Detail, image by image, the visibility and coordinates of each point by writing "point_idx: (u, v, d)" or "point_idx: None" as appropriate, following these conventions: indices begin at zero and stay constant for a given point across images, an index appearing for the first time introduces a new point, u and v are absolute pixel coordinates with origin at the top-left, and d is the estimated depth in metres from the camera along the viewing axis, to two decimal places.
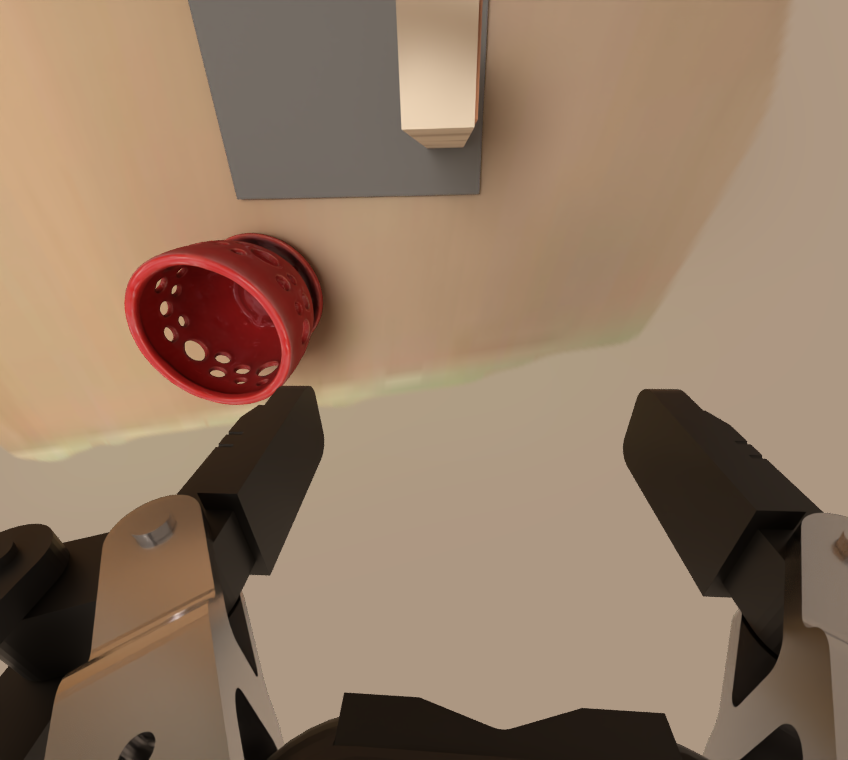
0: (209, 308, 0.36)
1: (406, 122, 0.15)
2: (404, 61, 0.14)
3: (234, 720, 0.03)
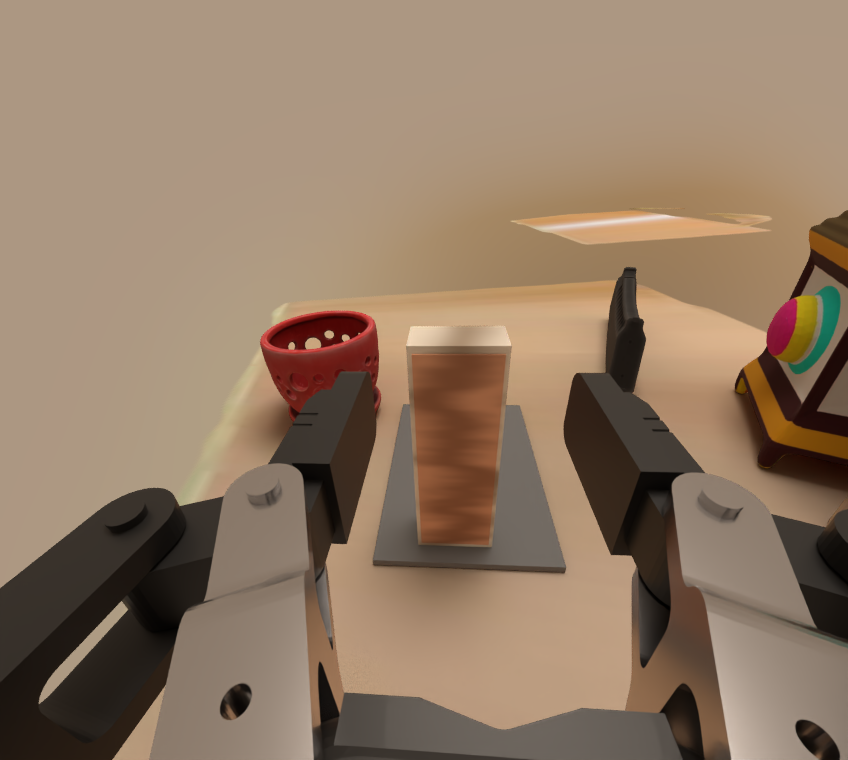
0: (337, 369, 0.51)
1: (414, 327, 0.24)
2: (444, 327, 0.23)
3: (316, 696, 0.03)
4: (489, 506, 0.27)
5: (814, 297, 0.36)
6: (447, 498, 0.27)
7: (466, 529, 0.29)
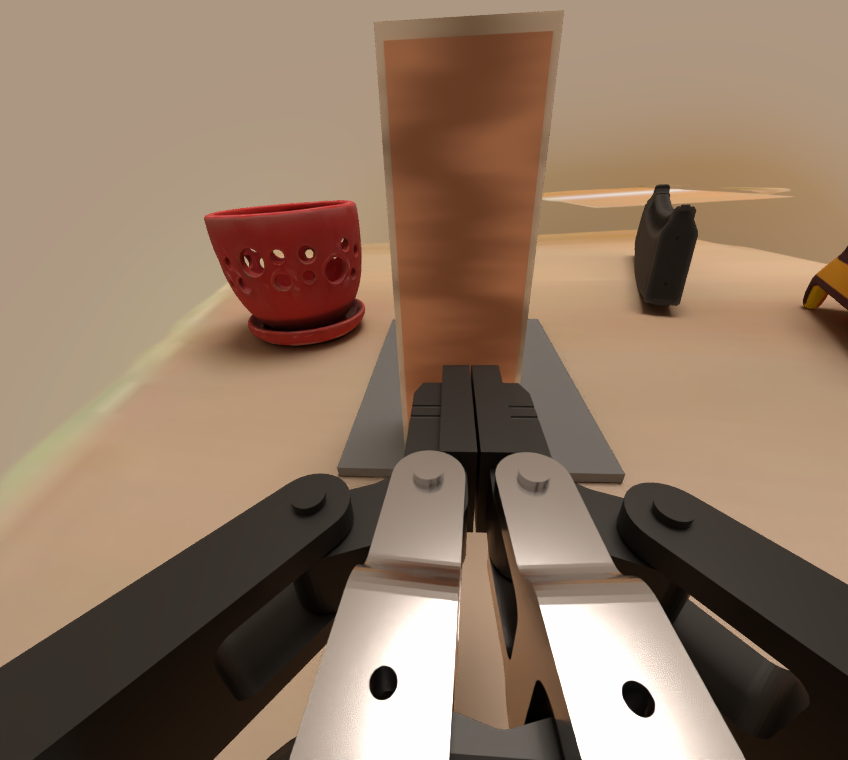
0: None
1: None
2: None
3: (451, 716, 0.03)
4: (511, 376, 0.18)
5: None
6: (447, 362, 0.18)
7: None
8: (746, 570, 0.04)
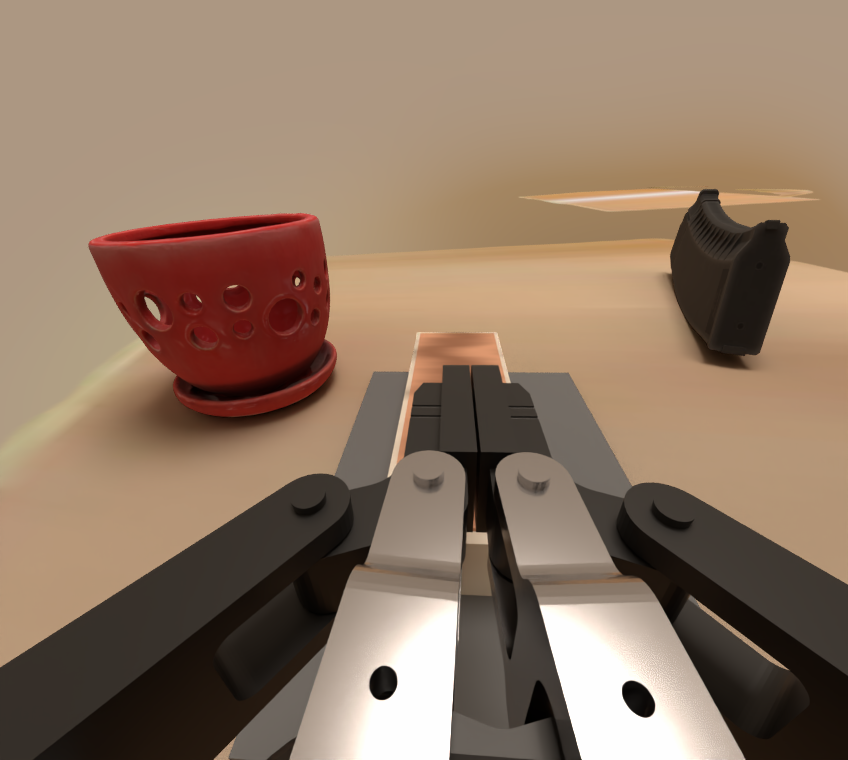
0: (271, 317, 0.32)
1: None
2: None
3: (452, 716, 0.03)
4: None
5: None
6: None
7: None
8: (746, 570, 0.04)
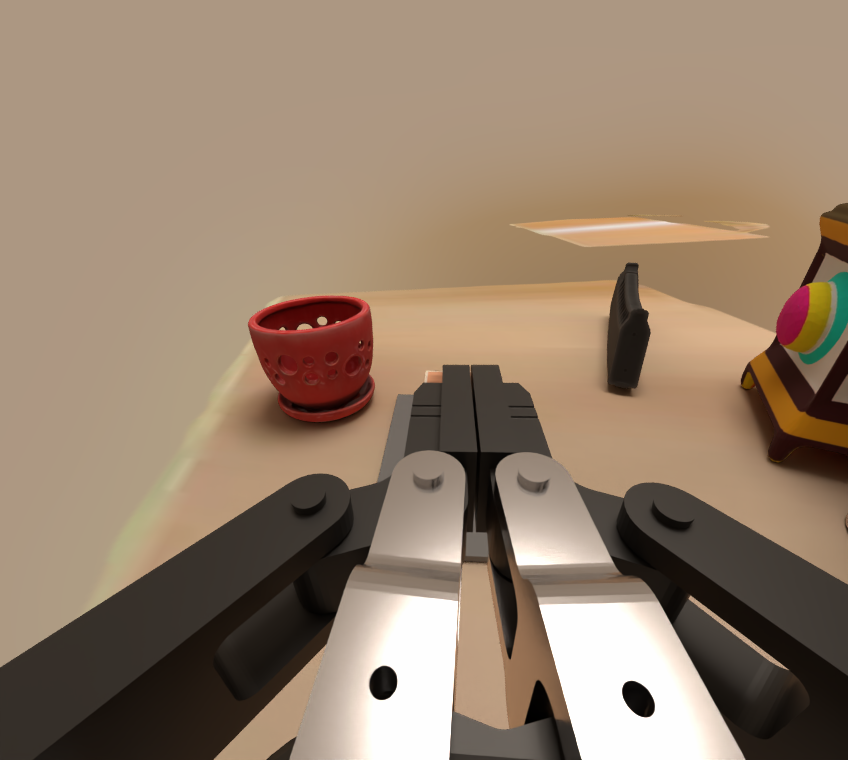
0: (330, 357, 0.49)
1: None
2: None
3: (452, 717, 0.03)
4: None
5: (827, 283, 0.34)
6: None
7: None
8: (746, 570, 0.04)
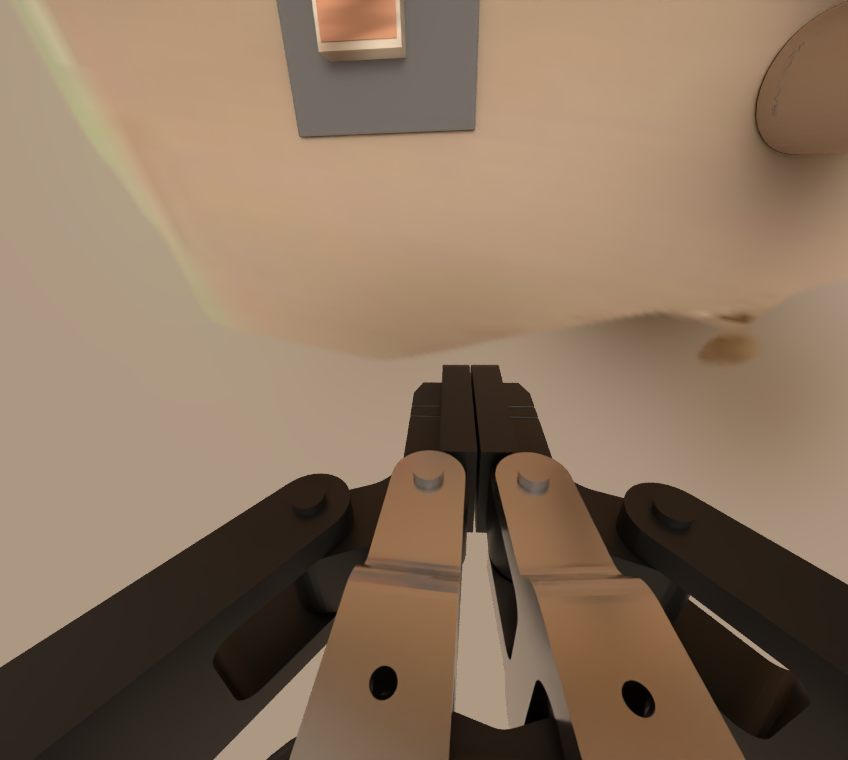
0: None
1: None
2: None
3: (451, 716, 0.03)
4: None
5: None
6: None
7: (368, 3, 0.25)
8: (746, 570, 0.04)
